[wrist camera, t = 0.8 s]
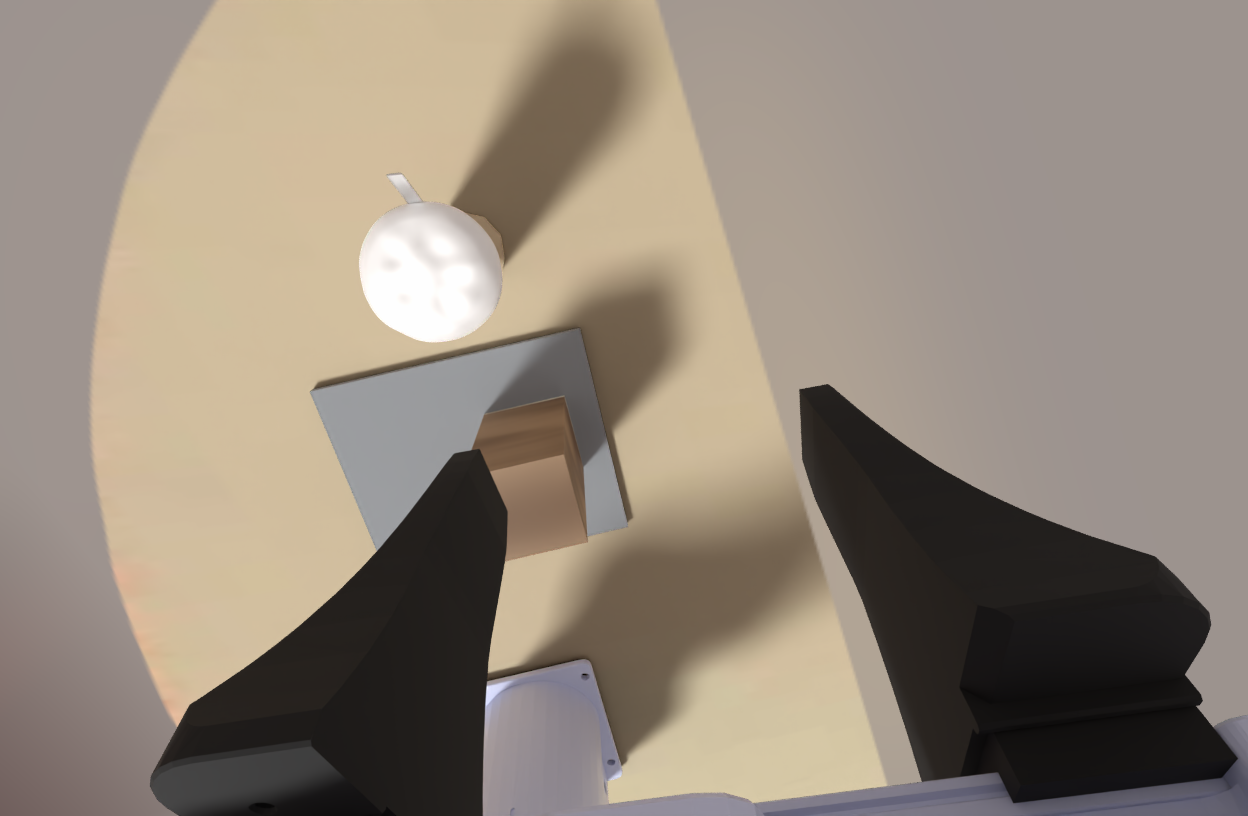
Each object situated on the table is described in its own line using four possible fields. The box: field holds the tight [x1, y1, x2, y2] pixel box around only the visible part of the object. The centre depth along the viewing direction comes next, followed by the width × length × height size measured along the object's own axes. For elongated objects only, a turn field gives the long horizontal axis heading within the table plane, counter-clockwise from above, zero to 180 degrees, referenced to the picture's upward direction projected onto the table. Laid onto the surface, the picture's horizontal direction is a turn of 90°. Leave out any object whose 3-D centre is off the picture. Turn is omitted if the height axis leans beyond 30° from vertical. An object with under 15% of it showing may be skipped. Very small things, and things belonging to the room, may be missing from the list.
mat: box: [310, 328, 628, 551], centre depth 31 cm, size 11×13×1 cm
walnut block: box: [472, 395, 588, 561], centre depth 27 cm, size 4×4×7 cm
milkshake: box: [359, 173, 505, 342], centre depth 23 cm, size 4×5×10 cm
